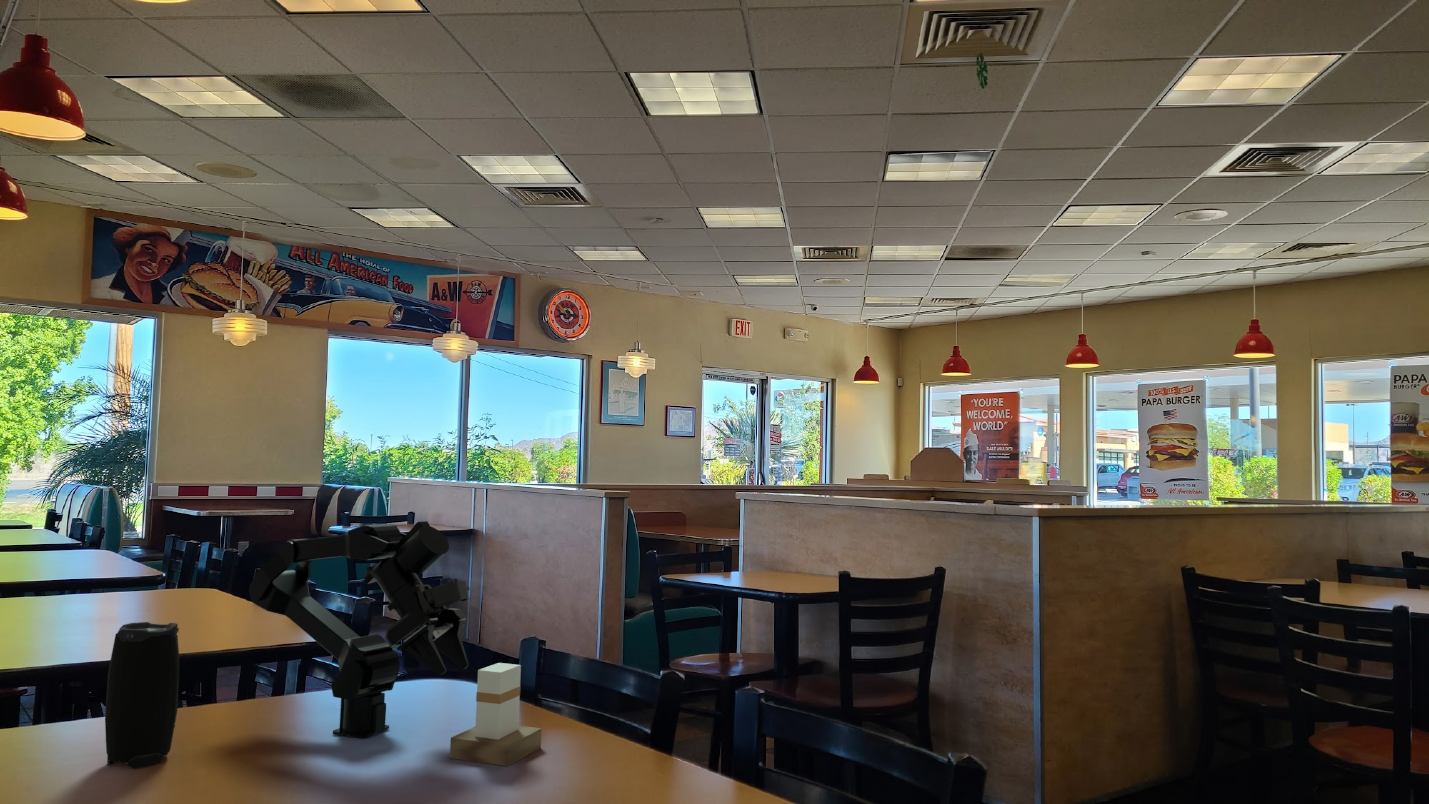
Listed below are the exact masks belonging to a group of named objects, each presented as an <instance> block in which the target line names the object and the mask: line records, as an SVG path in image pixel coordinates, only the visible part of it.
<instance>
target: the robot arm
mask: <svg viewBox="0 0 1429 804" xmlns="http://www.w3.org/2000/svg"><path fill="white" fill-rule="evenodd" d="M449 548H450V543H449V540H448V538H447V537H446V535H445V534H443V533H442V532H441V531H440V530H439V529H437V528H435V527H433V526H431V525H430V523H429V521H427V520H425V521H424V520H421V521H419V520H418V521H416V523H414V525H413V527H412V528H411V529H410V530H409V531H408V532H406V533H404V532H402V531H401V530H400V529H399V528H398V525H396V524H394V523H381V524H380V523H379V524H362V525H360V526H357V527H354V528H351V529H349V530H348V531H346V533H343V534H339V535H331V536H330V535H329V536H323V537H315V538H299V539H297V538H296V539H289V540H287V541H285V542H283V543H282V544H281V546H280V547H279V549H278V550H277V552H276V553H275V554H274V555H273V556H272V557H270V558H269V559H268V560H267V561H266V562H265V563H264V564H263V565H261V566H260V567H259V568H258V571H257V573H256V574H255V575H254V577H253V579H252V581H251V582H250V584H249V588H248V593H249V596H250V597H249V598H250V600H251V602H252V603H253V604H254V606H257V607H259V608H260V609H262V610H264V611H265V612H270V613H273V614H277V615H281V616H285V617H287V618H288V619H289V620H290V621H292V622H293V623H294V624H295V625H296V626H298V628H300V629H301V630H302V631H303V632H305V633H306V634H307V635H308V636H309V637H310V638H311V639H313V640H314V641H315V642H316V643H317V644H319V645H320V646H321V647H322V648H324V649H325V650H326V651H327V652H328V653H329V654H331V655H332V656H333V657H334V658H335V659H336V660H337V664H338V669H339V675H338V676H337V677H336V678H335V679H334V680H333V681H332V682H331V684H330V686H331V692H332V697H333V698H336V699H337V698H339V699H340V711H339V712H340V713H339V727H338V728H336V729H333V730H332V735H339V736H345V737H352V738H353V737H354V738H360V739H364V738H369V737H372V736H374V735H377V734H378V733H381V732H385V731H386V730H388V729H390V725H388V724H386V718H387V716H386V715H387V703H386V702H385V701H386V699H385V696H386V694H385V693H386V692H388V691H389V692H390V691H392V690H393V688H394V685H395V682H396V680H397V677H398V675H399V674H400V673H399V672H400V667H401V661H400V656H399V654H398V652H402V653H403V654H404V655H406V656H409V657H410V658H411V659H414V660H415V661H416V662H418V663H420V664H422V665H424V666H425V667H426V668H428V669H429V670H431V671H433V672H434V673H436V674H438V675H440V676H442V675H444V674H445V673H447V668H446V666H445V663H444V661H443V659H442V657H441V654H440V653H442V655H444V656H445V657H447V658H448V660H451V661H452V662H453V663H454V664H455V665H457V666H458V667H459V668H460V669H462V670H466V669H467V668H468V667H469V661H468V657H467V654H466V651H465V647H464V643H463V640H462V639H463V638H462V631H463V628H464V626H465V625H466V620H467V616H466V614H465V613H464V612H463V610H462V608H461V609H460V608H455V607H452V608H447V606H448V605H451V604H452V605H453V604H455V603H458V602H465V601H468V600H469V594H468V592H469V591H470V586H469V585H468V584H467V582H466V581H465V580H462V579H461V578H460V577H455V578H454V579H449V580H447V582H446V583H444V584H441V585H437V586H434V587H432V586H431V585H430V584H424V583H423V582H422V581H421V579H420V578H419V577H418V576H419V575H421V574H425V573H426V572H427V571H428V570H430V568H431V567H433V565H435V564H436V563H437V561H439V560H440V559H442V557H443V556H444V555H445V554H447V552H449V550H450V549H449ZM338 557H339V558H340V557H346V558H348V559H351V560H359V561H372V560H380V562H379V563H378V564H376V565H371V566H367V567H366V573H365V576H364V580H363V583H364V585H369V584H372V583H377V584H378V585H379V587H380V588H381V590H382V592H383V593H384V595H385V596H386V599H388V602H389V604H388V605H387V608H388V610H389V612H396V614H397V616H398V617H399V619H398V620H397V621H395V622H394V623H393V624H391V625H390V626H389V627H387V628H386V630H385V634H384V637H383V636H382V635H380V634H378V633H374V634H369V635H364V636H360V635H359V634H357V633H356V632H355V631H354V630H353V629H351V628H350V627H349V626H347V625H346V624H345V623H344V622H343V621H341V620H340V619H339V618H338V617H336V615H334V614H333V613H331V612H330V611H329V610H328V609H326V607H324V606H323V605H322V604H320V603H319V602H318V601H317V600H315V599H314V598H313V597H312V596H311V595H310V589H309V583H308V581H309V580H310V578H311V576H312V563H313V562H314V560H321V559H329V558H338ZM295 563H297V565H296V566H295V568H294V569H290V570H289V568H290V567H291V566H292V564H295ZM394 648H396V650H397V651H396V650H395V649H394Z"/></svg>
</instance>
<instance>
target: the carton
mask: <svg viewBox="0 0 1429 804" xmlns="http://www.w3.org/2000/svg"><path fill="white" fill-rule="evenodd" d="M521 668H522V665H521V664H514V663H513V664H512V663H503V662H498V663H494V664H491V665H489V666H486V667H483V668H480V669H478V670H477V686H476V695H475V698H476V699H475V701H476V706H475V707H476V709H475V726H476V727H475V726H474V727H475V737H482V738H490V739H497V740H498V739H500V738H502V737H504V736H506V735H508V734H510V733H512V732H514V731H516V730H518V726H519V719H520V696H521V673H522V672H521V671H522V669H521Z"/></svg>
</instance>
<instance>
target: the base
mask: <svg viewBox="0 0 1429 804" xmlns="http://www.w3.org/2000/svg"><path fill="white" fill-rule="evenodd" d="M475 727H476V725H475V726H473V727H472V728H470V729H467V730H465V731H464V730H463V732H460V733H458V734H456V735H453V736H451V737H450V744H449V745H450V746H449V747H450V749H449V759H455V760H462V761H467V762H468V761H469V762H477V763H483V764H490V765H496V766H497V765H498V766H504V767H509V766H511V765H512V764H514V763H516V762H518V761H520V760H521V759H523V758H525V757H527V756H528V755H530V754H532V753H534V752H536V751H538V750H540V749H541V747H542V728H541V727H533V726H532V727H531V726H524V725H518V730H516V731H514V732H512V733H510V734H508V735H506V736H504V737H502V738H500V739H498V740H497V739H490V738H482V737H475Z"/></svg>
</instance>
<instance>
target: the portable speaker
mask: <svg viewBox="0 0 1429 804" xmlns="http://www.w3.org/2000/svg"><path fill="white" fill-rule="evenodd" d="M178 624H179V623H176V622H169V623H168V624H163V623H162V624H160V623H151V622H148V621H143V622H140V621H139V622H129V623H125V624H122V626H121V627H119V629H118V631H117V633H115V635H114V636H115V637H114V640H113V645H112V646H113V647H112V650H111V655H110V661H109V666H108V670H107V671H108V672H107V683H106V696H105V697H106V698H105V715H104V724H105V726H104V727H105V748H106V754H107V756H106V757H107V760H106V763H107V766H109V767H111V766H114V765H115V763H122V764H127V765H128V767H130V769H134V770H136V769H140V768H146V767H147V768H148V767H149V766H150V767H151V766H153V765H158V764H160V763H161V762H162V760H164V757H165V756H167V755H168V754H169V752H170V751H171V748H172V742H173V737H174V731H175V728H176V720H177V713H178V708H179V705H178V703H179V685H180V684H179V683H180V666H181V662H180V651H179V650H180V649H179V637H178V633H179V631H180V630H179V629H180V627H178Z"/></svg>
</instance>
